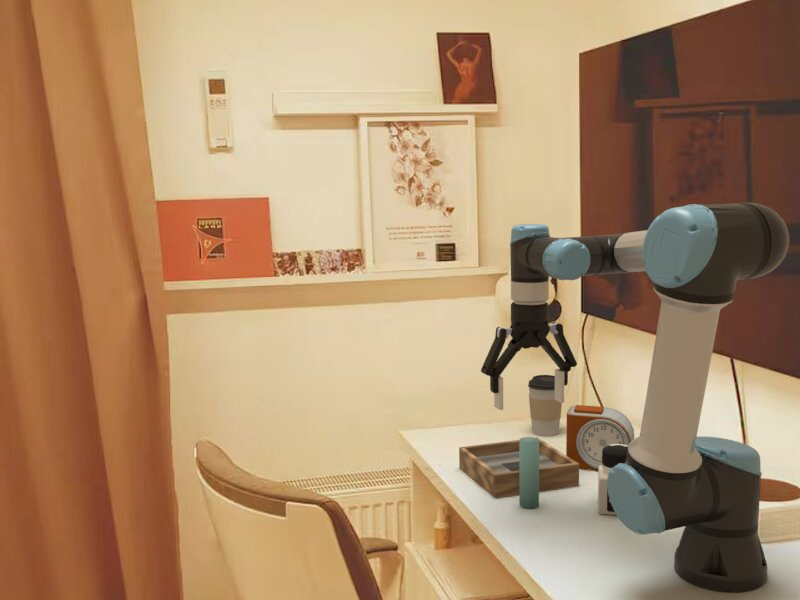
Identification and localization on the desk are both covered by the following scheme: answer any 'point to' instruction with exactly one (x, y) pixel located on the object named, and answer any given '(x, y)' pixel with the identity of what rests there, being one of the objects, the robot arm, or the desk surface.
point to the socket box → (515, 467)
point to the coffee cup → (544, 406)
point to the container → (609, 460)
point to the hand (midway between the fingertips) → (529, 404)
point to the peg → (529, 472)
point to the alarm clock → (594, 433)
